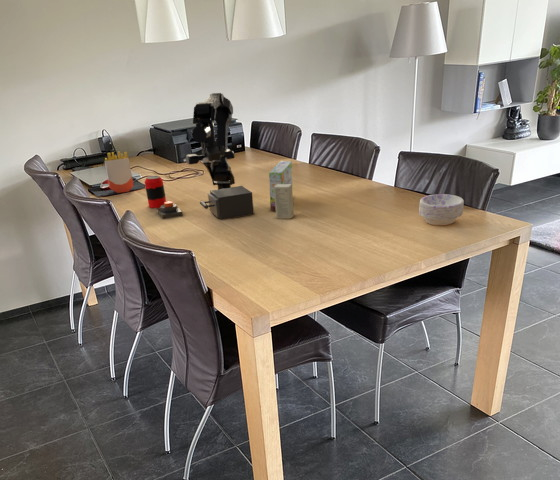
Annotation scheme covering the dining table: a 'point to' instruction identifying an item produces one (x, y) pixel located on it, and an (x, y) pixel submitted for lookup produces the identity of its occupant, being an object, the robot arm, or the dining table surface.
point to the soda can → (155, 191)
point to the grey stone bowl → (441, 208)
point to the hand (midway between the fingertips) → (212, 178)
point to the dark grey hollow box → (234, 202)
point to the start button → (168, 204)
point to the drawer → (212, 205)
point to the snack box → (279, 178)
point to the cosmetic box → (284, 201)
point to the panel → (169, 211)
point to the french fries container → (119, 172)
